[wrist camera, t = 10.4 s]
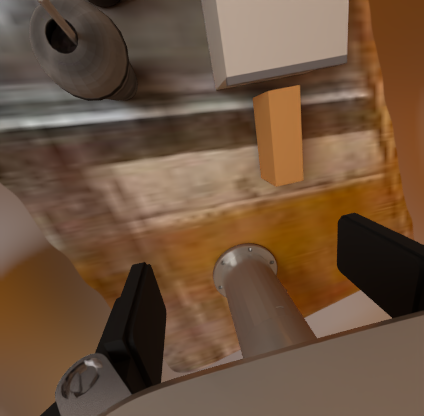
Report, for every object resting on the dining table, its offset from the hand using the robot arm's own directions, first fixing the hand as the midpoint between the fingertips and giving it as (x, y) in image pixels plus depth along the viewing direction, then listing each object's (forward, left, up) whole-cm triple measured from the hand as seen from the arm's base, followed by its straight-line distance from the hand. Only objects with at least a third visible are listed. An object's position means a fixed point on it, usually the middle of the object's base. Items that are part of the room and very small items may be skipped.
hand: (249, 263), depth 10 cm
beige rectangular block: (+4, -20, -26) cm, 33 cm away
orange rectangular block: (-6, -10, -25) cm, 28 cm away
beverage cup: (+16, -4, -26) cm, 31 cm away
